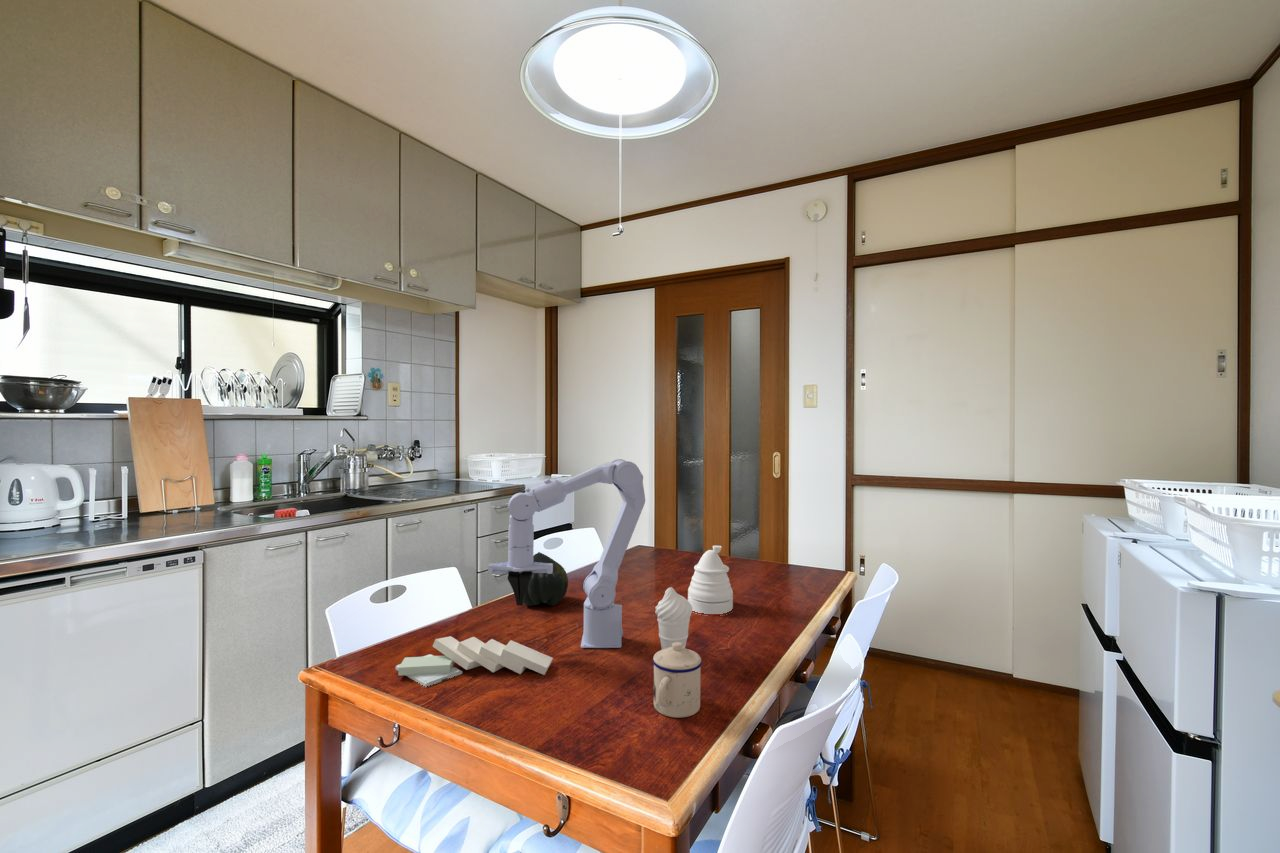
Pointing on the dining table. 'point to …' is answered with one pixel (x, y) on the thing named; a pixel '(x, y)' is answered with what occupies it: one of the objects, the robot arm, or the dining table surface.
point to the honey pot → (711, 585)
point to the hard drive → (433, 676)
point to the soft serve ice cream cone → (673, 618)
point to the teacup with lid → (677, 681)
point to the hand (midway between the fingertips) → (520, 604)
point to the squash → (546, 584)
